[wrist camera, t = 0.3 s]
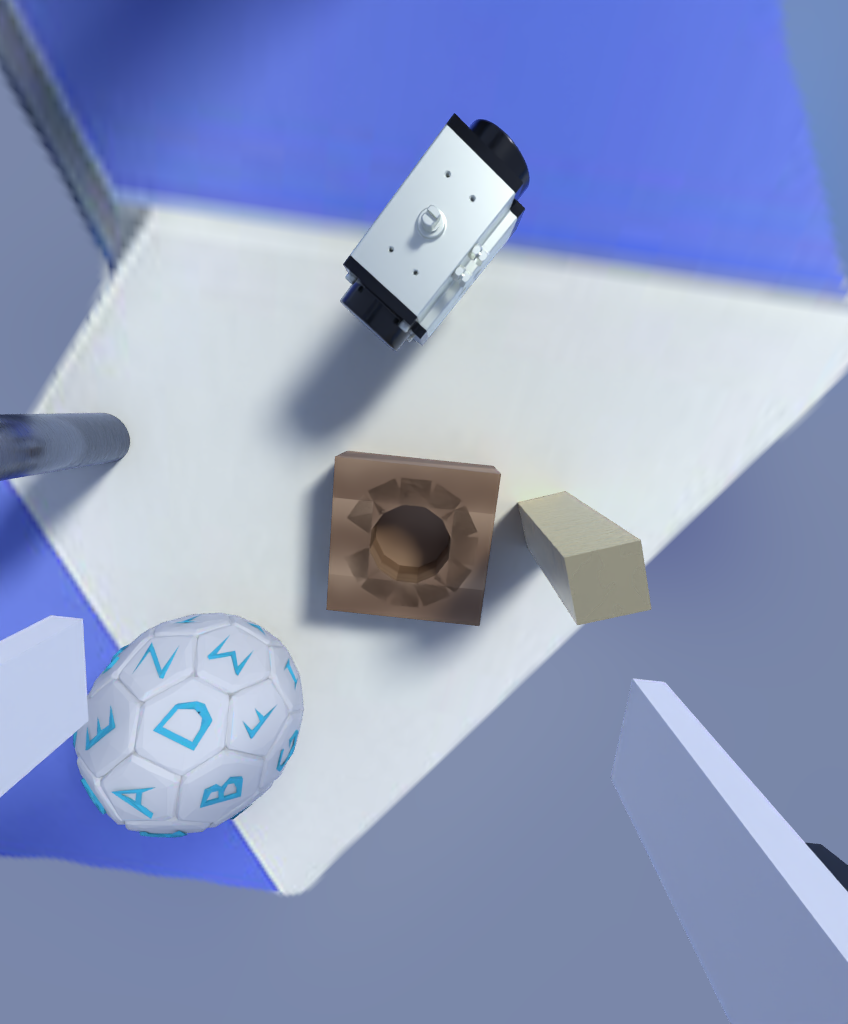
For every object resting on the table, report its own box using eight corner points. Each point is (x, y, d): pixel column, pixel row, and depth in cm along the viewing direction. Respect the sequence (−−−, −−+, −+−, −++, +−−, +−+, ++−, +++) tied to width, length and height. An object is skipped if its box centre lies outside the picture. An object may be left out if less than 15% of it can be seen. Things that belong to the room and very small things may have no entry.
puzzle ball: (172, 566, 39) (16, 659, 25) (338, 608, 40) (282, 724, 25) (152, 710, 43) (5, 867, 28) (306, 747, 43) (239, 920, 29)
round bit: (79, 410, 36) (-133, 412, 23) (128, 415, 36) (-56, 420, 23) (83, 459, 37) (-120, 489, 24) (130, 464, 37) (-45, 496, 24)
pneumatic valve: (360, 324, 34) (320, 281, 23) (461, 191, 32) (475, 68, 20) (414, 373, 35) (403, 355, 23) (518, 246, 33) (562, 157, 21)
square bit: (517, 502, 37) (564, 557, 24) (565, 491, 37) (640, 540, 23) (527, 547, 38) (577, 625, 24) (574, 536, 38) (651, 609, 24)
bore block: (347, 450, 37) (334, 456, 32) (493, 466, 37) (500, 474, 32) (338, 587, 39) (326, 609, 35) (474, 601, 39) (479, 626, 35)
